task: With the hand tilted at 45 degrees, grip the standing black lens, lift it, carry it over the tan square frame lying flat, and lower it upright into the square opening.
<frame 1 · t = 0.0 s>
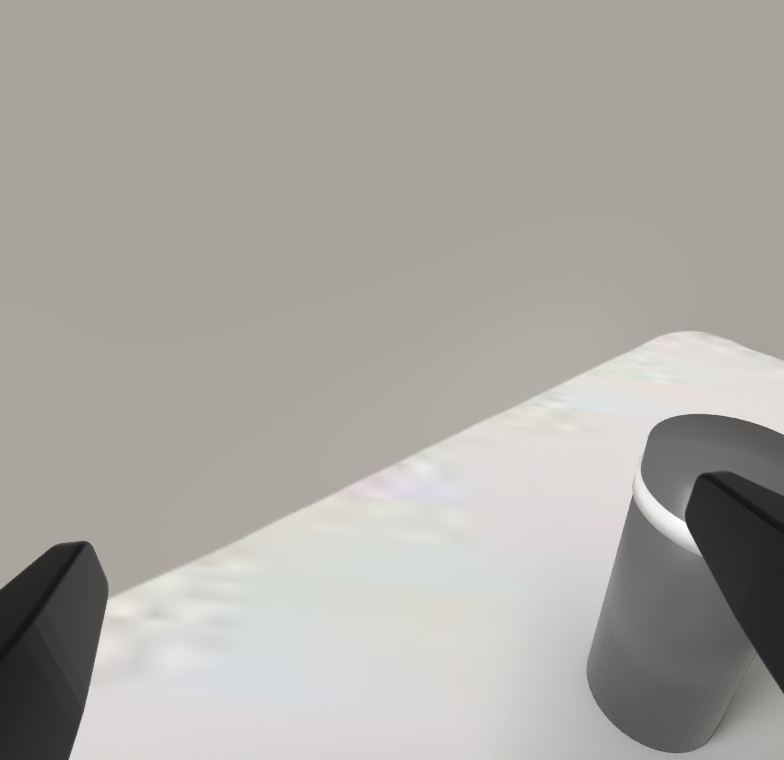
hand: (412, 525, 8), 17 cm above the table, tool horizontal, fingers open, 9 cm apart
lens: (649, 686, 22), on the table
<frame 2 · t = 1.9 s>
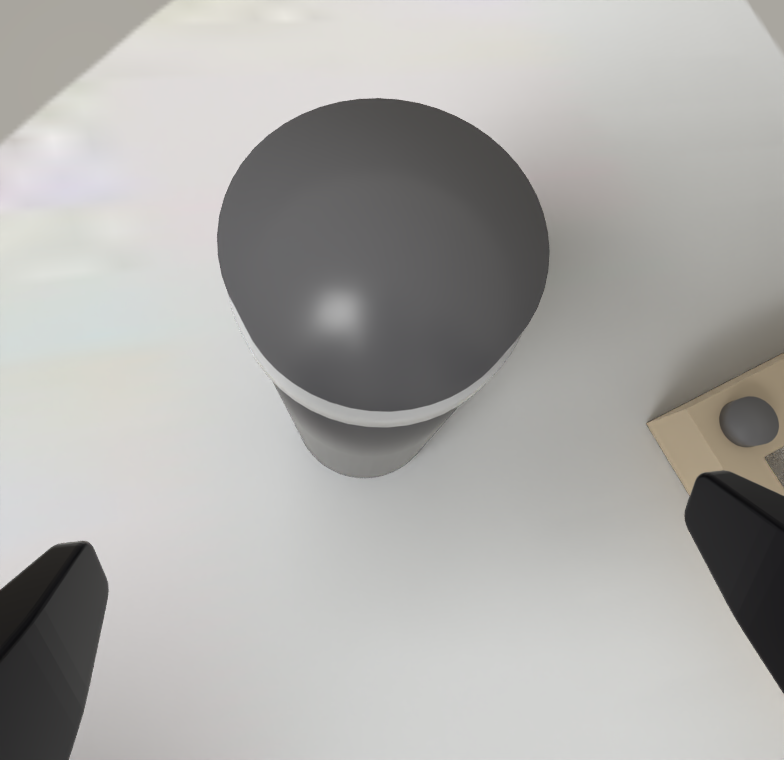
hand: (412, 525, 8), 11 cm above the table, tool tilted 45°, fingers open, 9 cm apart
lens: (364, 409, 19), on the table
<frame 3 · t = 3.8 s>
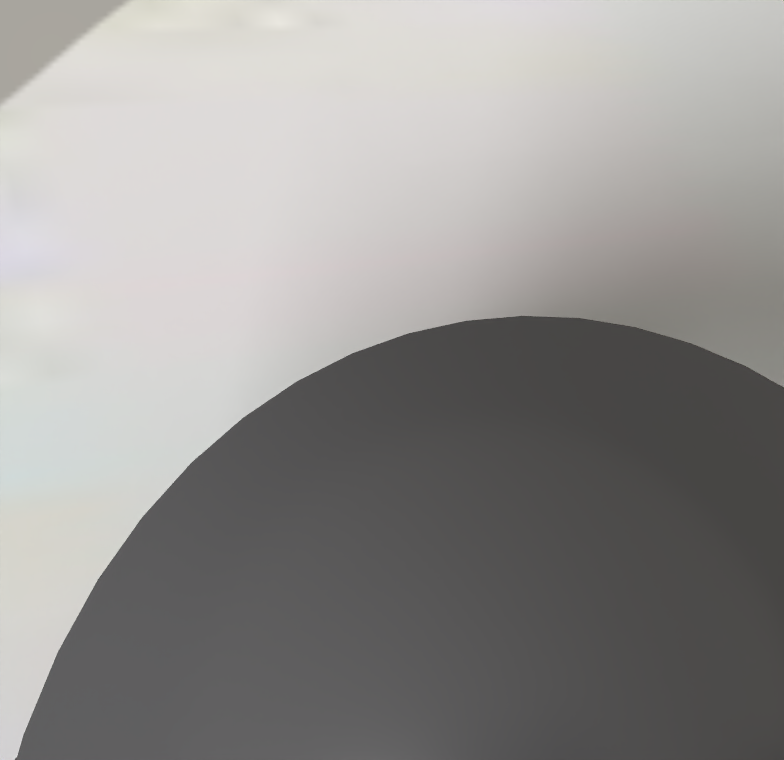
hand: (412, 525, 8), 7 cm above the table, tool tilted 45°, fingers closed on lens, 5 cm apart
lens: (389, 580, 14), on the table, touching gripper
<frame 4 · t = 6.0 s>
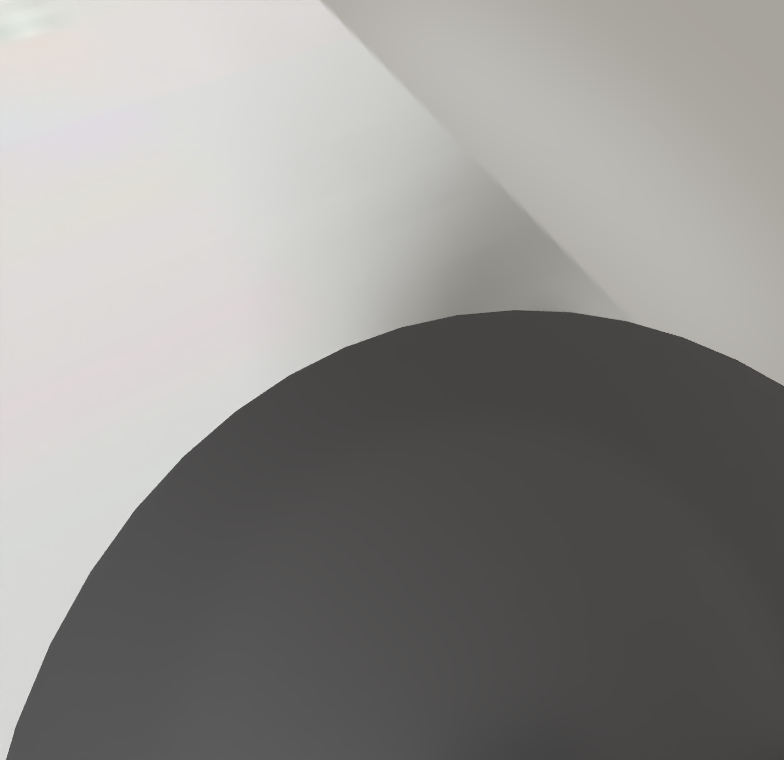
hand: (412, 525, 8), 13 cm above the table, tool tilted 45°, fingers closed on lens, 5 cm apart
lens: (387, 579, 14), point 7 cm above the table, touching gripper
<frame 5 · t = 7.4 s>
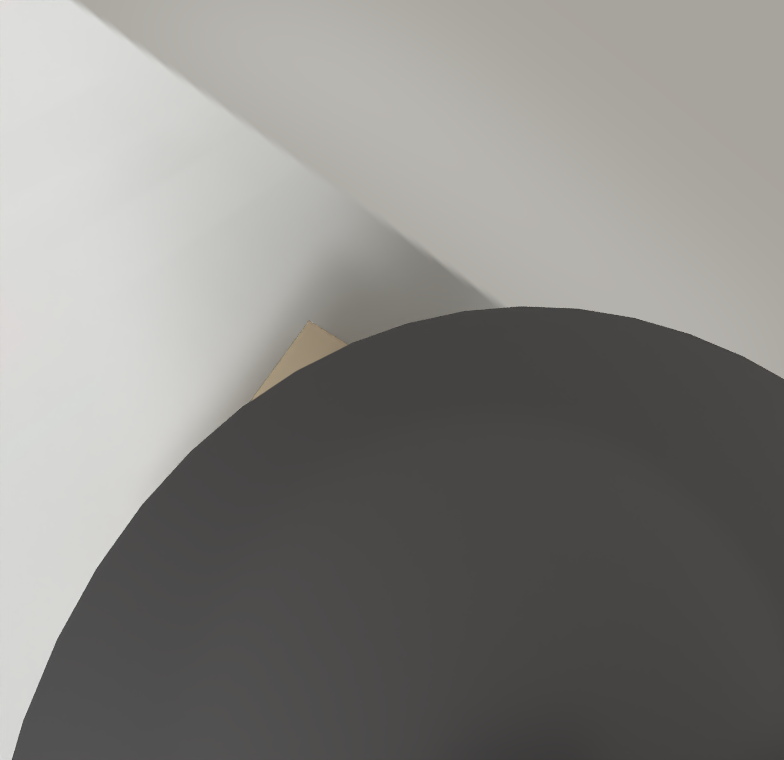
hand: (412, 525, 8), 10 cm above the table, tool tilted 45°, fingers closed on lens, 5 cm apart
lens: (389, 578, 14), point 4 cm above the table, touching gripper
tan square frame: (380, 563, 17), on the table
when the fingers open (8 cm above the table, at t = 8.3 s): lens drops 1 cm, resting in tan square frame.
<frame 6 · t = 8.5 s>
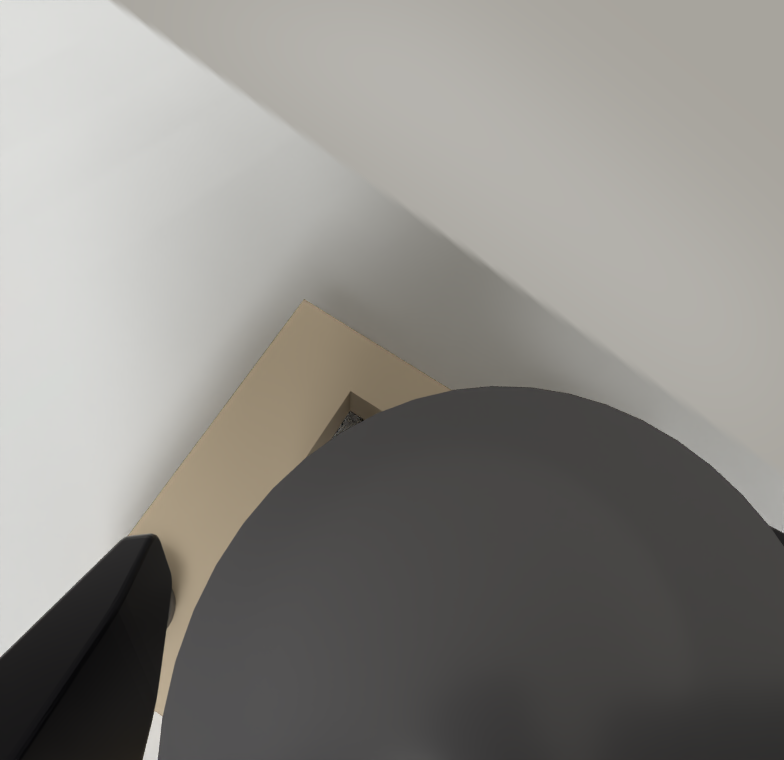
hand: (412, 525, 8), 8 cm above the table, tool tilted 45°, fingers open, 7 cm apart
lens: (384, 578, 15), resting in tan square frame
tan square frame: (385, 575, 15), on the table
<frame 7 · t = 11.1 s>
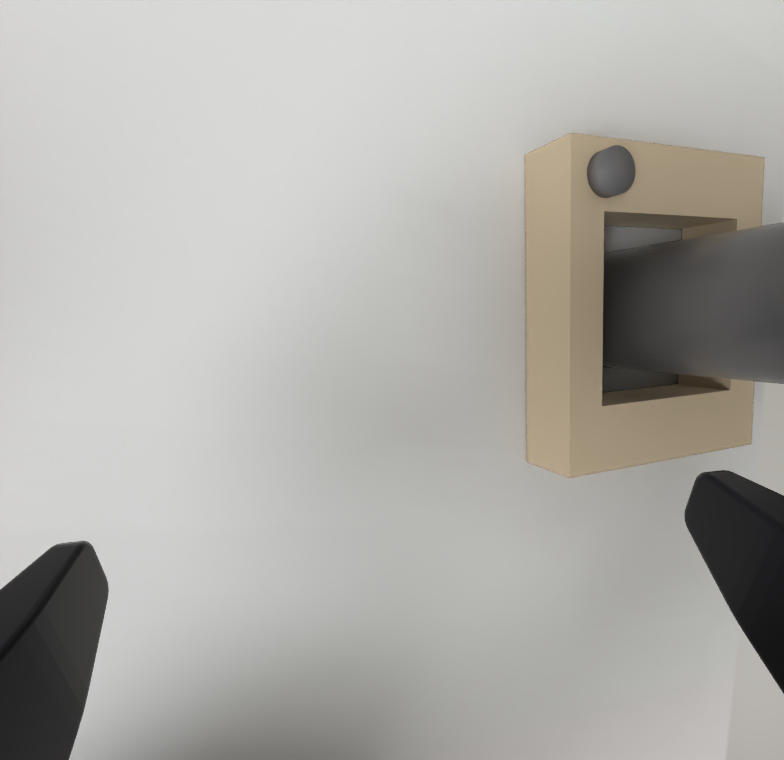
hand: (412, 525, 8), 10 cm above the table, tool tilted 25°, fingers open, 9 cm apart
lens: (619, 310, 23), resting in tan square frame
tan square frame: (621, 310, 23), on the table
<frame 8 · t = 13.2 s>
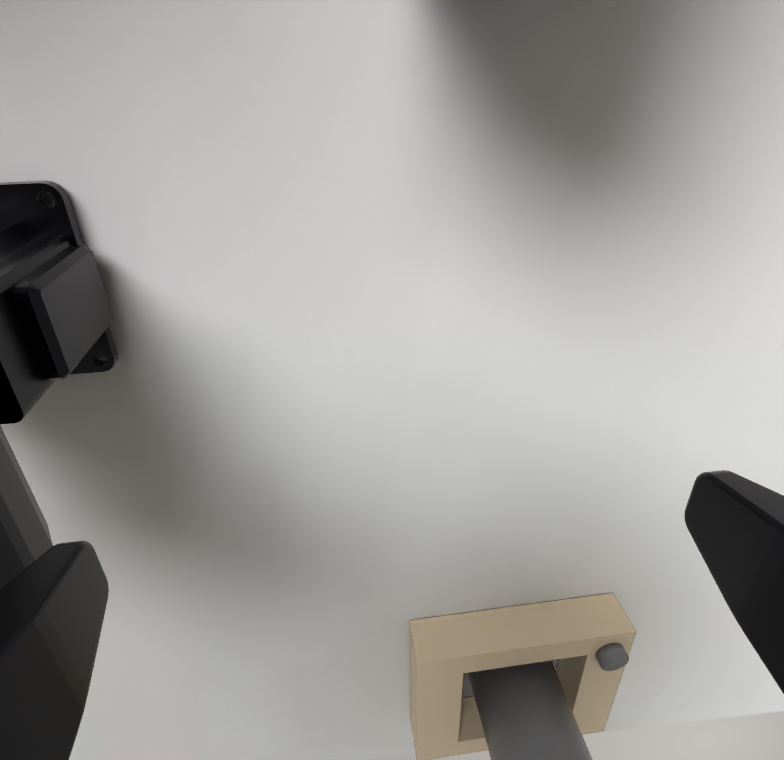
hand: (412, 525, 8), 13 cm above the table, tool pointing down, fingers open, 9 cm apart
lens: (506, 658, 33), resting in tan square frame
tan square frame: (506, 659, 33), on the table
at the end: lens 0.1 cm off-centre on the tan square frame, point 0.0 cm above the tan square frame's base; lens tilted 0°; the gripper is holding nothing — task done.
